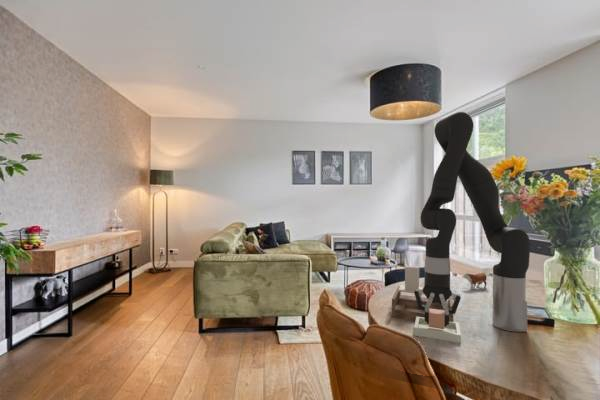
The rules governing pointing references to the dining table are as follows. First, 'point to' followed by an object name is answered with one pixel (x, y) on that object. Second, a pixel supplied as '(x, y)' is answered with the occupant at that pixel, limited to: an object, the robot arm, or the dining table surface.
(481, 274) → the bull figurine
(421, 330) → the sage tray
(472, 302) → the dining table surface
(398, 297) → the brown wooden box
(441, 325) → the terracotta block
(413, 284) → the cover
